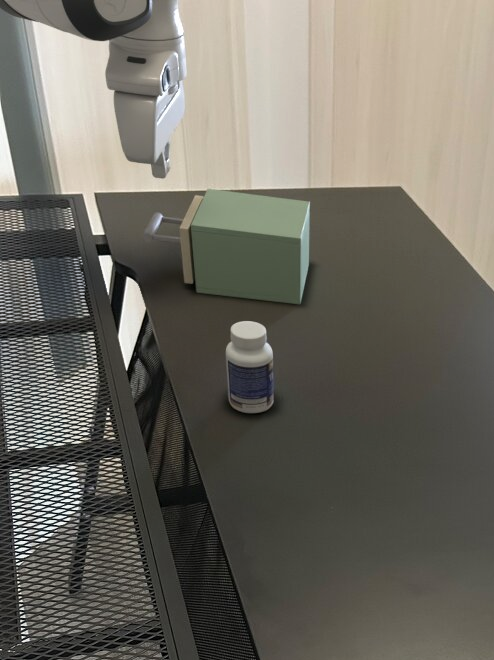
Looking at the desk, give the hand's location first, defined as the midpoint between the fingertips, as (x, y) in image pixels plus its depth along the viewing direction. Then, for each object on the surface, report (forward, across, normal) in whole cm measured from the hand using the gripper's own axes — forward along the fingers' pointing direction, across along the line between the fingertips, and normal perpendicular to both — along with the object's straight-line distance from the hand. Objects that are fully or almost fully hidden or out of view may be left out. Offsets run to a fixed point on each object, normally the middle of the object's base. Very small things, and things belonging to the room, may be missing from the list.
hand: (161, 174), depth 115 cm
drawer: (+12, 0, +7) cm, 14 cm away
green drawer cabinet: (+13, 0, +12) cm, 18 cm away
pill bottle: (+13, +32, +16) cm, 38 cm away
